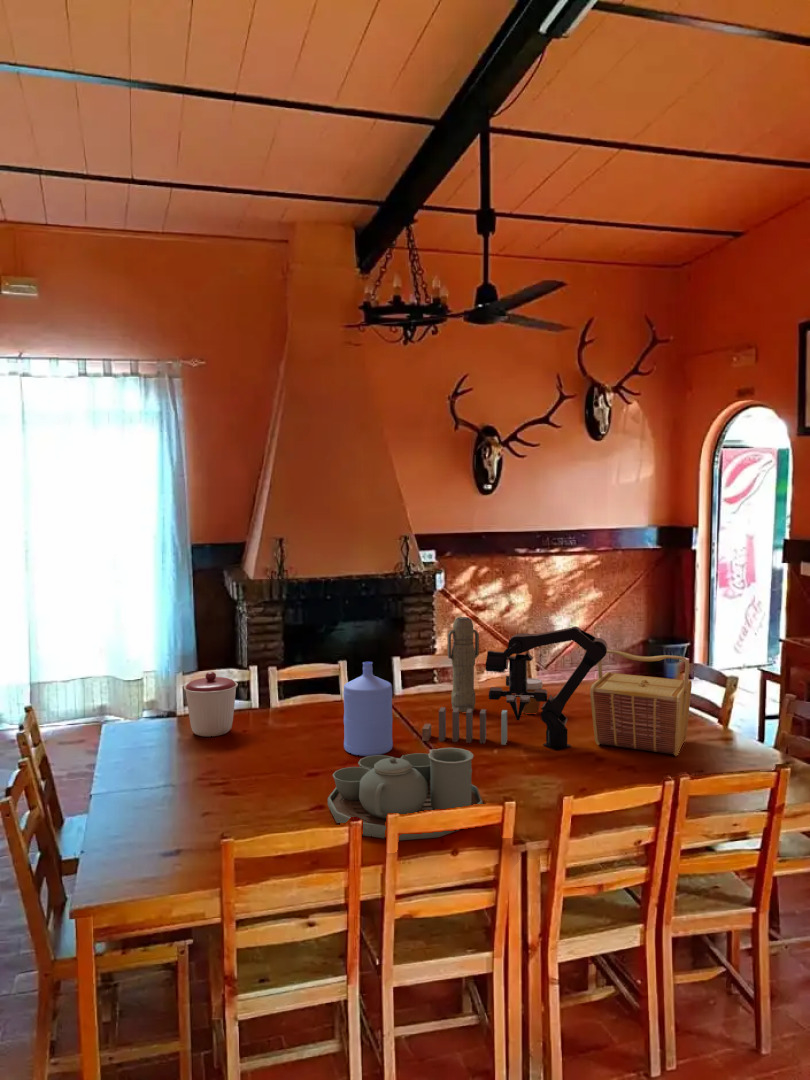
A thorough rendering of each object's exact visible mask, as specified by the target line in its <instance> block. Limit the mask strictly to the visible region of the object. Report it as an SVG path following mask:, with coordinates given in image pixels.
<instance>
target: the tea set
mask: <svg viewBox="0 0 810 1080" xmlns="http://www.w3.org/2000/svg"><path fill="white" fill-rule="evenodd" d="M474 757H475V756H474V753H472V752H471V751H470V750H468V749H464V748H458V747H442V748H441V747H440V748H437V749H435V748H434V749H433V748H432V749H429V753H424V752H423V753H419V752H417V753H410V754H409V753H408V754H402V756H401V757H400V758H399V757H394V756H389V755H384V754H381V755H374V756H364V757H362V758H360V759H359V761H358V762H357V764H358V766H350V767H349V766H348V767H344V768H343V767H342V768H340V769H337V770H335V771H334V772H333V774H332V778H333V779H334V784H335V788H334V789H333V791H332V792H331V793H330V794H329V796H328V797H327V806H328V808H329V811H330V812H331V815H332V816H333V819H334V820H335V822H336V824H337V823H346V822H347V821H348V820H349V819H350V818H351V817H358V818H360V819H362V820H363V835H362V836H365V837H371V836H372V837H374V838H379V839H385V838H384V837H385V830H386V826H385V822H386V816H387V814H388V813H399V814H407V813H414V812H419V811H424V810H435V809H447V808H455V807H463V806H469V805H473V804H483V805H484V803H483V802H484V801H483V798H482V795H481V794H480V791H479V788H478V787H477V786H476V785H474V784H472V773H473V768H472V760H473V759H474ZM458 831H459V830H456V831H443V832H433V833H422V834H401V835H400V836H399V840H398V841H407V840H408V841H409V840H420V839H422V840H423V839H433V838H440V837H444V836H446V835H449V834H451V833H454V832H458Z"/></svg>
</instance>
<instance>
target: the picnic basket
mask: <svg viewBox="0 0 810 1080" xmlns="http://www.w3.org/2000/svg"><path fill="white" fill-rule="evenodd" d="M606 654H614V655H619V656H621V657H623V658H625V659H629V660H633V661H636V662H637V661H639V662H660V661H662V660H666V659H672V660H681V661H682V662H683V663H684V665H685V667H684V674H683V675H684V677H683V679H676V678H667V677H659V676H658V677H657V676H645V675H635V674H625V673H618V672H617V673H615V672H611V671H607V672H606V673H604V674H603V667H602V659H601V660H600V661H599V662H598V663H597V673H598V674H597V675H598V676H597V677H598V679H597V680H596V681H595V682H593V683H592V685H591V686H590V692H589V693H590V694H589V696H590V703H591V714H592V722H593V723H592V726H593V732H594V741H595V743H596V745H598V746H599V745H600V744H601V745H605V746H612V747H617V748H618V747H619V748H625V749H633V750H640V751H646V752H654V753H661V754H668V755H674V757H677V755H678V756H679V754H680V752H681V751H680V748H681V745H682V743H683V742H685V743H686V739H687V735H688V734H687V733H688V723H689V715H690V705H691V696H692V687H693V685H692V684H693V683H692V680H691V679H690V678H689V677H690V668H691V667H690V666H691V665H690V662H689V660H688V659H686V657H684V656H680V655H669V654H667V655H666V654H665V655H664V654H663V655H654V656H644V655H643V656H642V655H636V654H635V655H634V654H631V653H628V652H624V651H620V650H612V649H607V653H606ZM679 751H680V752H679ZM678 753H679V754H678Z"/></svg>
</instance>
